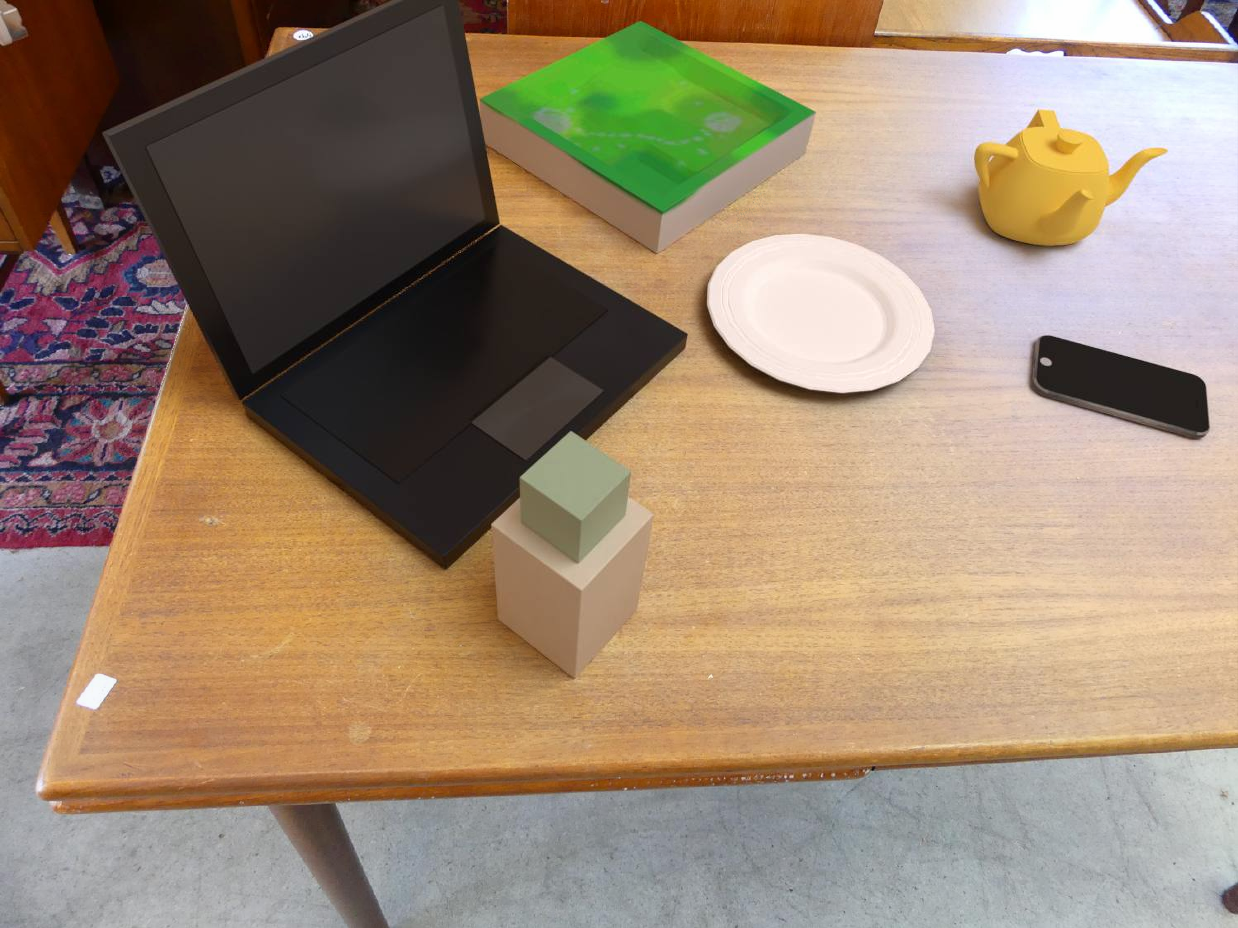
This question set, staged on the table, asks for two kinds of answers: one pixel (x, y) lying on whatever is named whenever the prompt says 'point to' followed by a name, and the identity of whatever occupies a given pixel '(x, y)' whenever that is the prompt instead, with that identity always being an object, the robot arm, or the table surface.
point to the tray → (646, 132)
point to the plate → (820, 313)
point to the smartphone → (1121, 386)
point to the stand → (569, 586)
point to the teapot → (1050, 182)
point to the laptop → (464, 388)
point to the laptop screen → (314, 182)
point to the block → (574, 496)
